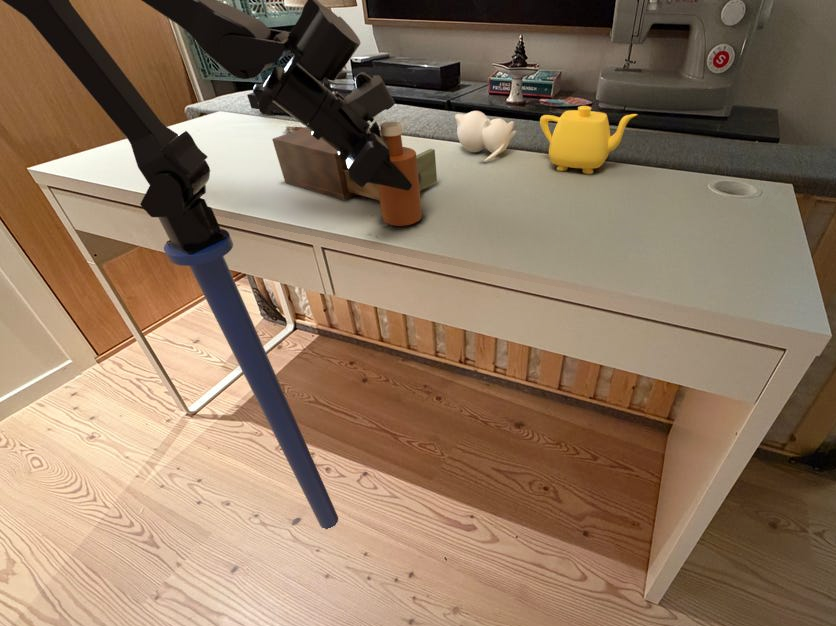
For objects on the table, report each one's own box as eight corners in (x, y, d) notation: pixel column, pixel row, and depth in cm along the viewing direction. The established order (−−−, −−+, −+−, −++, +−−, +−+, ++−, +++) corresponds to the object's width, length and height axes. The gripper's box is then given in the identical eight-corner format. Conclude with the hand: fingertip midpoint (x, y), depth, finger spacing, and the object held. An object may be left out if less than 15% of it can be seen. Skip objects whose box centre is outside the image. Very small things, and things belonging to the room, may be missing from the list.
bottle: (398, 229, 72) (385, 134, 62) (375, 216, 75) (359, 124, 66) (429, 216, 75) (422, 124, 66) (406, 205, 79) (395, 115, 69)
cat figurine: (513, 105, 91) (460, 97, 95) (494, 149, 89) (440, 139, 93) (520, 138, 100) (470, 129, 103) (502, 178, 98) (452, 168, 101)
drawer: (443, 182, 85) (441, 150, 81) (393, 211, 76) (388, 176, 72) (373, 165, 92) (368, 135, 88) (320, 189, 83) (312, 157, 80)
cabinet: (396, 175, 90) (390, 131, 85) (344, 200, 82) (334, 154, 76) (338, 160, 97) (329, 119, 91) (285, 182, 88) (271, 138, 83)
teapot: (629, 161, 94) (640, 103, 87) (623, 181, 86) (635, 119, 79) (543, 152, 99) (547, 96, 91) (530, 170, 91) (534, 111, 84)
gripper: (358, 68, 52) (455, 157, 62) (344, 43, 66) (426, 120, 75) (305, 147, 56) (405, 220, 66) (302, 109, 69) (386, 174, 79)
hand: (406, 179), depth 71 cm, fingers closed on bottle, 6 cm apart
